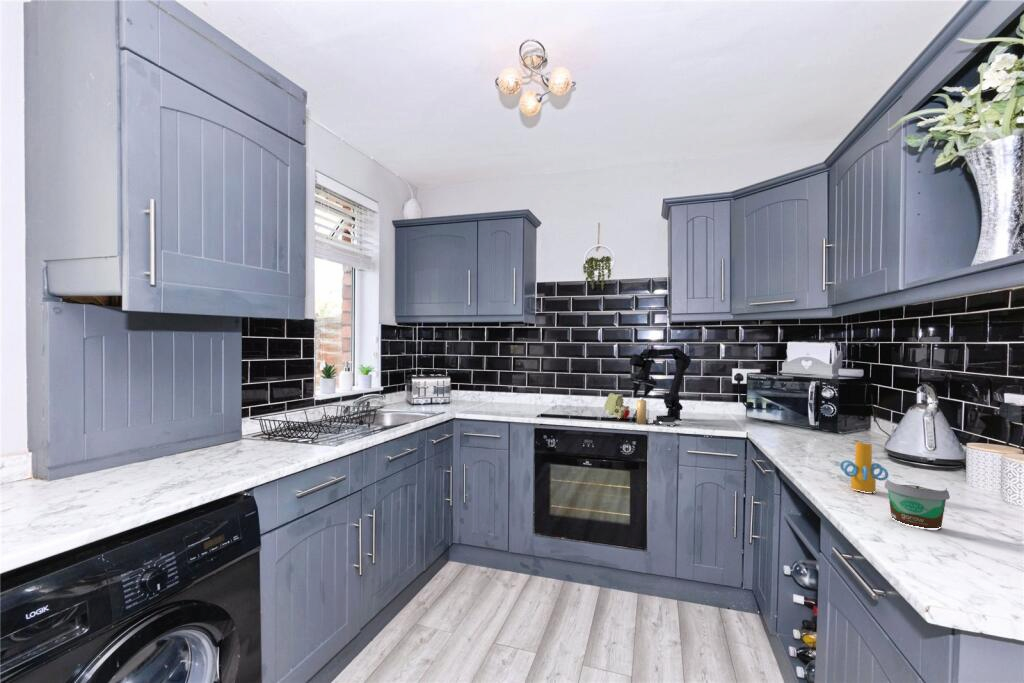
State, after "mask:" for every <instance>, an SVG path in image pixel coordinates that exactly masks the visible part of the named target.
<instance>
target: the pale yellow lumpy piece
mask: <svg viewBox="0 0 1024 683" xmlns="http://www.w3.org/2000/svg"><path fill="white" fill-rule="evenodd" d="M623 397H624V394H622V393H619V394H615V393H613V392H611V393H609V394H608V396H607V399H606V401H605V403H604V405H603V408H604V411H603V413H602V415H604V414H605V412H607V414H608V415H609V416H616V417H617V419H618V418H619V419H620V418H621V419H623V418H624V420H626V419H628V417H629V415H630V413H631V411H630V410H629V409H630V405H626V406H625V405H624V398H623ZM622 417H623V418H622ZM625 418H626V419H625ZM619 419H618V420H619ZM621 419H620V420H621Z"/></svg>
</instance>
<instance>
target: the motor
mask: <svg viewBox="0 0 1024 683" xmlns="http://www.w3.org/2000/svg"><path fill="white" fill-rule="evenodd" d="M655 418H656V419H653V420H652V425H653V424H655V425H654V426H660V425H673V424H675V425H676V420H675V417H671V416H668V415H667V414H666V415H665V414H663V415H661V414H660V415H656V417H655Z"/></svg>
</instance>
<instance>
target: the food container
mask: <svg viewBox="0 0 1024 683" xmlns="http://www.w3.org/2000/svg"><path fill="white" fill-rule="evenodd" d="M883 487H884V488H885V489H887V491H888V500H889V501H888V502H889V509H890V517H891V516H892V518H894V519H895V520H897V521H900V522H902V523H905V524H909V525H913V526H919V527H924V528H939V527H941V526H942V527H943V520H944V513H945V507H946V502H947V500H950V499H951V497H950V493H949V492H950V491H949V490H948V488H946V489H945V490H936V489H931V488H927V487H923V486H920V485H914V484H899V483H895V482H893V481H890V480H889V479H888V478H887V479H886V480H885V483H884V486H883ZM892 518H891V519H892ZM942 527H941V528H942Z"/></svg>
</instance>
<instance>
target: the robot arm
mask: <svg viewBox="0 0 1024 683" xmlns="http://www.w3.org/2000/svg"><path fill="white" fill-rule="evenodd" d="M670 355H671V356H672V358H673V359H674V362H675V363H674V364H675V372H674V376H673V379H672V382H671V386H670V390H669V392H665V394H664V397H663V403H664V405H665V407H666V409H667V412H666V413H667V414H666V415H668V416H671V417H675V421H681V420H680V419H681V411H683V408H684V406H683V405H682V404H681V402H680V398H681V397H680V395H679V393H680V389H681V386H682V383H683V379H684V376H685V372H686V370H687V369H688V368H689V367H690V364H691V363H692V362H691V361H692V359H691V357H690V356H689V355H687V354H686V353H685V352H683V351H682V350H681V349H680V348H678V347H671V348H669V347H668V348H661V349H659V348H658V349H656V348H644V349H643V350H642V352H641V353H640V354H635V353H634V354H632V356H631V357H630V359H629V361H628V362H629V366H632V367H636V368H640V369H638V371H637V372H636V371H635V372H630V375H629V376H630V378H629V382H630V383H631V384H632V387H633V394H634V395H635V396H637V394H638V392H639V391H640V390H639V389H640V388H641V385H642V383H643V386H644V393H643V398H644V397H645V398H646V397H647V396H648V395H649V394H650V392H651V391H653V389H654V388H655V387H656V386H658V381H657V380H654V379H652V378H650V375H652V374H653V372H651V371H652V365H653V364H654V365H656V364H657V363H656V361H655V359H656V358H658V357H660V356H670Z"/></svg>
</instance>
